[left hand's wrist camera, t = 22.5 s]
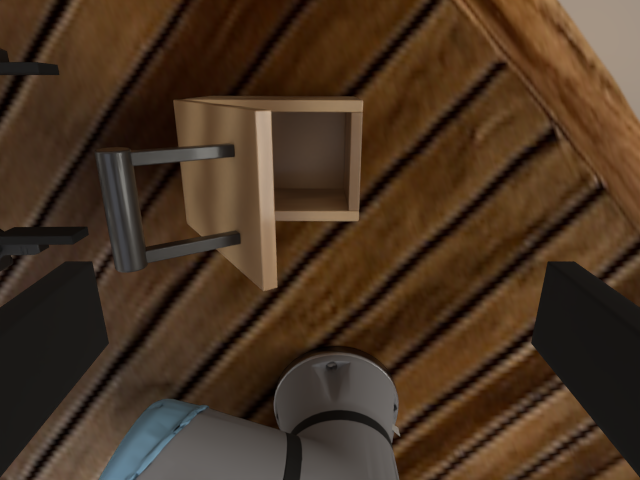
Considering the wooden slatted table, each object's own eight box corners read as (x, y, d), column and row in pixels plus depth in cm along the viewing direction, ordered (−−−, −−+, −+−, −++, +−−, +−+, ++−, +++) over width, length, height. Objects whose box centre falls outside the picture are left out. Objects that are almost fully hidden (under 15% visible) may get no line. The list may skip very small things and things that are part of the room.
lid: (271, 109, 21) (95, 115, 17) (277, 288, 24) (132, 327, 20) (185, 99, 32) (68, 101, 28) (197, 221, 36) (94, 239, 32)
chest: (354, 96, 41) (363, 100, 33) (351, 194, 44) (358, 221, 36) (209, 95, 41) (181, 99, 33) (217, 194, 44) (194, 220, 36)
